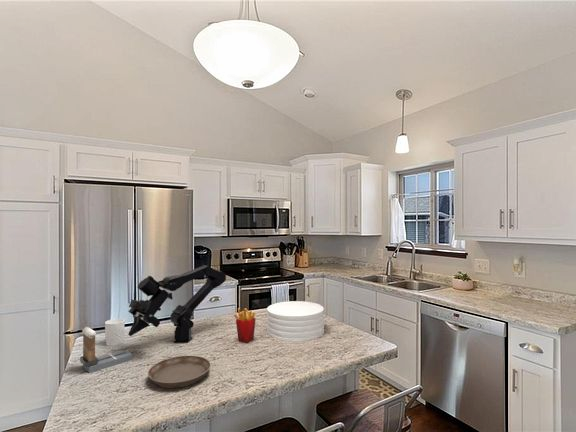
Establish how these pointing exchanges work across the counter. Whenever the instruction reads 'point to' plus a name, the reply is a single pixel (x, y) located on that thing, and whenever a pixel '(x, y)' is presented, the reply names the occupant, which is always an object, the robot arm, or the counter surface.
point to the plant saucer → (179, 371)
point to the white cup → (114, 331)
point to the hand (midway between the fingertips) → (129, 335)
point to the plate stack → (295, 321)
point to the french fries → (245, 326)
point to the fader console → (110, 360)
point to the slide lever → (88, 347)
